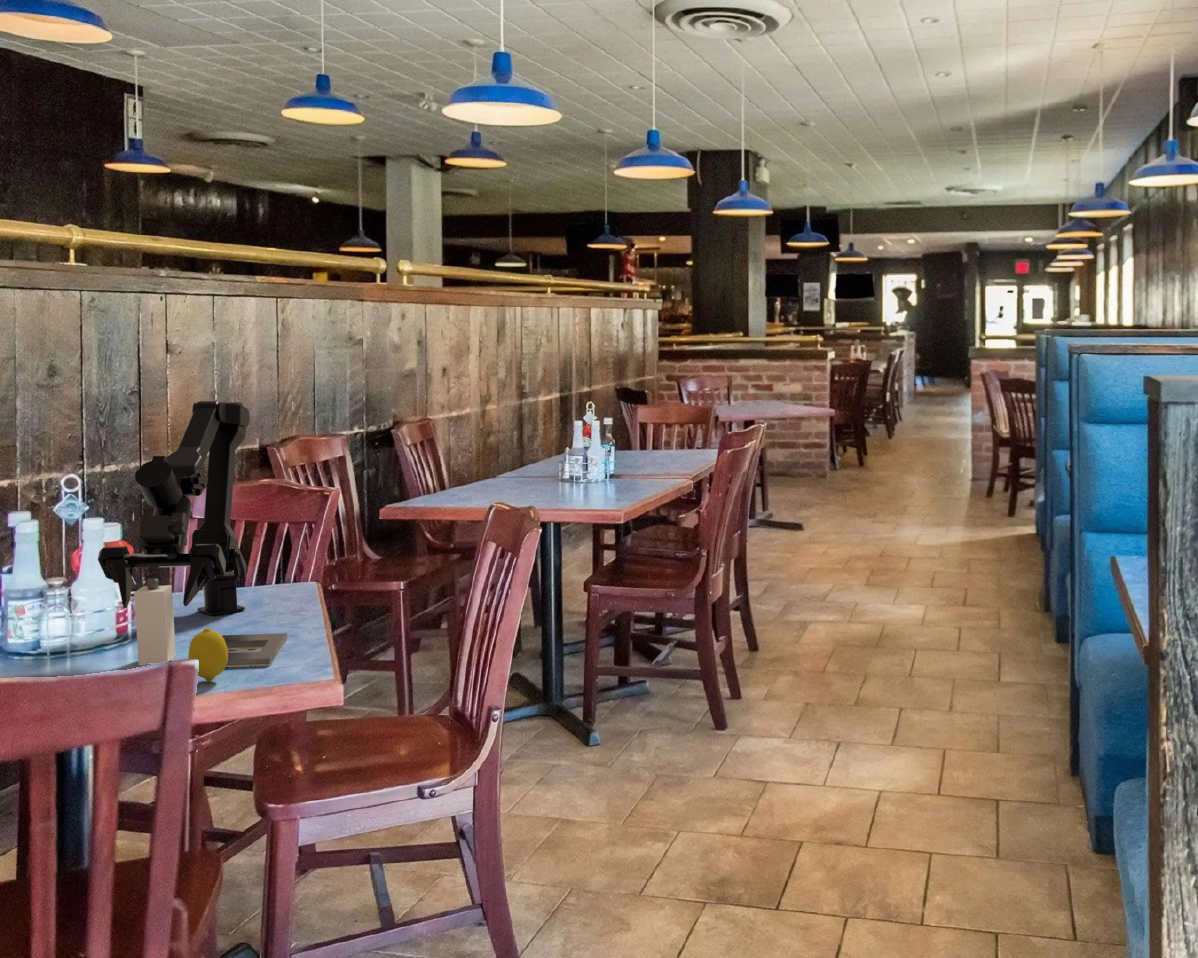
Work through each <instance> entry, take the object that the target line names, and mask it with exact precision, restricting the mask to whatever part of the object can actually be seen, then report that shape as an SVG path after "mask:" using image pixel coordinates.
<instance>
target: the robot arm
mask: <svg viewBox="0 0 1198 958" xmlns="http://www.w3.org/2000/svg"><path fill="white" fill-rule="evenodd" d="M191 411H192V415H191V417H190V419H189V422H188V423H187V426H186V429H185V431H184V434H183V436H182V438H181V440H180V442H179V445H178V448H177V449H176V450H175V451H174V452H172V453H170V454H169V455H167V456H166V455H153V456H152V459H151V460H150V461H148V462H145V463H143V464H142V465H141V466H139V468H138V469H137V470H136V471H135V474H134V479H135V482H136V484H137V485H138V487H139V490H140V491H141V493H142V495H143V497H144V499H145V501H146V503H147V505H148V506H150V507H152V508H154V509H153V514H152V515H141V516H139V517H138V528H137V529H138V530H137V537H138V538H140V539H141V543H140V545H141V549H142V550H145V553H130V551H129V549H128V547H127V545H122V546H120V545H118V546H117V545H116V546H114V545H112V546H104V547H102V548H101V549H100V550H99V552H98V558H97V561H98V563H99V565H100V567H101V569H102V573H103V574H104V577H105V578H106V579H108V580H112V581H113V583H115V584H117V585H118V587H119V593H120V597H121V603H122V604H121V605H122V607H123V608H124V609H128V605H129V603H130V600H131V594H132V589H133V583H134V579H133V577H132V576H133V575H134V569H135V568H146V567H147V568H148V567H149V568H150V567H151V568H152V567H159V568H183V567H184V568H185V567H186V568H187V567H188V568H189V572H188V573H189V574H188V577H187V581H186V585H185V590H184V594H183V602H182V603H183V606H184V607H188V605H190V603H191V602H192V601H193V599H195V597H196V596H197V595H198V593H199V592H200V591H201V590H202V589H203V595H204V596H203V598H204V606H202V607H197V612H200V613H204V614H207V615H210V616H219V615H224V614H231V613H236V612H241V611H245V610H246V607H245V606H241V605H238V594H237V593H238V592H237V589H238V588H237V581H239V580H241V579H242V580H243V579H246V578H247V562H246V561H245V559H244V557H243V553H242V552H241V550H240V548H239V539H238V538H237V536H236V534H235V532H234V531H233V529H232V527H231V522H232V521H231V518H232V508H233V507H232V505H233V490H234V479H235V478H234V476H235V462H236V451H237V449H238V448H239V446H240V445H241V444H242V443H243V441H244V440H245V439H246V435H247V429H248V427H249V425H250V418H251V417H250V416H251V415H250V412H249V408H247V407H245V406H244V405H243V403H242V402H240V401H227V402H225V401H220V400H198V401H197V402H194V403H193V405H192V410H191ZM207 457H208V458H207ZM206 459H208V460H207V471H206V469H205V462H206ZM205 489H206V490H205ZM204 490H205V499H204V501H205V502H204V513H203V514H204V515H203V523H202V524H201V526H199V529H194V531H193V532H192V535H191V547H190V548H189V550H188V553H184V552H185V546H187V545H188V538H187V535H188V527H189V522H190V519H192V518H193V512H192V505H193V504H192V501H191V500H190V499H189V497H199V496H201V495H202V494H203V492H204Z"/></svg>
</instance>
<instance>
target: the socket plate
mask: <svg viewBox="0 0 1198 958" xmlns="http://www.w3.org/2000/svg"><path fill="white" fill-rule="evenodd" d="M220 635H221V634H220ZM221 636H222V637H223V638H224V640H225V642H226V645H227V649H228V661H227V665H226V667H228V668H251V667H250V666H253V668H254V667H255V666H256V667H270V666H271V665H272V664H273V663H274V660H275V659H276V658H277V656H278V655H279V653H280V652H281V651H282V649H283V647H284V646H285V645H286V643H287V642H288V633H287V632H283V633H259V634H257V633H256V634H252V633H251V634H250V633H249V634H228V635H227V634H226V635H224V634H223V635H221Z"/></svg>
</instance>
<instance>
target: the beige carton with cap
mask: <svg viewBox="0 0 1198 958" xmlns="http://www.w3.org/2000/svg"><path fill="white" fill-rule="evenodd" d="M146 582H147V585H143V586H141V587H139V588H138V589H137V590H136V591H134V592H133V593H134V609H135V610H134V611H135V626H136V640H137V641H136V643H137V661H138V666H146V665H145V664H149V663H159V662H165V661H170V660H172V661H173V660H174V659H175V658H176V656H177V653H176V637H175V636H176V635H175V633H176V632H175V621H174V604H173V603H174V601H173V586H172V585H170V584H169V585H167V584H166V585H159V578H157V577H155V578H147V581H146ZM174 657H175V658H174Z"/></svg>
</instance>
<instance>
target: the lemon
mask: <svg viewBox="0 0 1198 958" xmlns="http://www.w3.org/2000/svg"><path fill="white" fill-rule="evenodd" d="M187 655H188V660H189V659H198V660H199V672H198V675H197V676H198V677H199V678H202V679H204V680H205V681H206V682H209V683H210V682H212V681H213V680H214V679H215V678H216V677H218V676H219V675H221V674H222V673H223V672H224V670H225V669H226V668H225V667H226V665H227V661H228V649H227V645H226V642H225V640H224V638H223V637H222V636H221V634H220V633H219V632H217V631H215V630H213V629H212V630H211V628H208V627H205V628H204V629H203V630H202V631H200V632H198V633H196V634H195V635H194V636H193V638H192V639H191V641H190V643H189V648H188V653H187Z"/></svg>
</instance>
